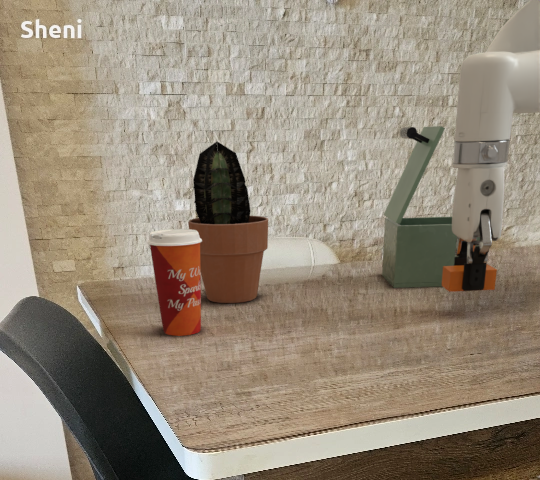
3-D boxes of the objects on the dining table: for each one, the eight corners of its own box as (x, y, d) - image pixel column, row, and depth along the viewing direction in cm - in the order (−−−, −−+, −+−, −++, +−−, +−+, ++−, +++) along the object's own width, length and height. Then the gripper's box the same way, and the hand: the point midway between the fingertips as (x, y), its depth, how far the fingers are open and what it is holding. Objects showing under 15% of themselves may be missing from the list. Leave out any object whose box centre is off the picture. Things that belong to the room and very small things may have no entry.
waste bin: (458, 273, 135) (464, 216, 130) (477, 285, 123) (484, 223, 118) (381, 275, 134) (384, 218, 129) (393, 287, 123) (397, 226, 118)
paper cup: (180, 340, 95) (171, 237, 88) (145, 332, 99) (135, 233, 93) (219, 329, 100) (213, 230, 93) (184, 321, 104) (176, 227, 98)
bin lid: (427, 128, 122) (403, 116, 121) (445, 128, 111) (418, 114, 110) (386, 216, 129) (363, 205, 128) (399, 224, 118) (374, 212, 117)
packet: (485, 283, 105) (487, 264, 104) (494, 289, 101) (497, 269, 100) (441, 285, 105) (442, 266, 104) (448, 291, 101) (450, 271, 100)
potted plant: (284, 300, 116) (282, 139, 105) (213, 310, 111) (203, 142, 99) (248, 287, 127) (243, 140, 115) (181, 295, 121) (169, 142, 110)
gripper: (528, 156, 87) (510, 297, 95) (488, 152, 102) (475, 274, 110) (471, 159, 87) (458, 300, 95) (439, 154, 102) (430, 276, 110)
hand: (467, 285), depth 103 cm, fingers closed on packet, 4 cm apart
